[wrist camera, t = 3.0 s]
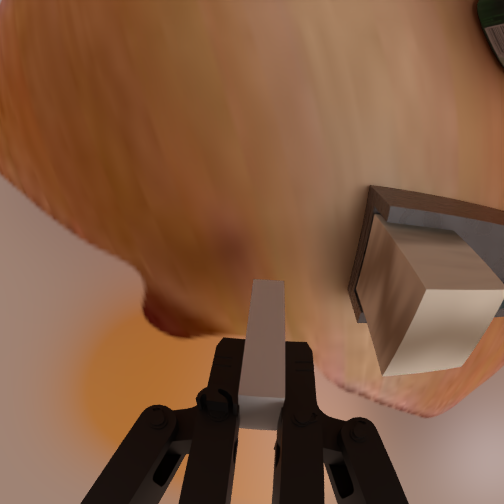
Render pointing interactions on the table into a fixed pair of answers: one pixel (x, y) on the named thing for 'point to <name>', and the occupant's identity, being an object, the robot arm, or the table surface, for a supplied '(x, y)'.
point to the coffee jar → (493, 25)
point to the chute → (435, 216)
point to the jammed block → (424, 297)
